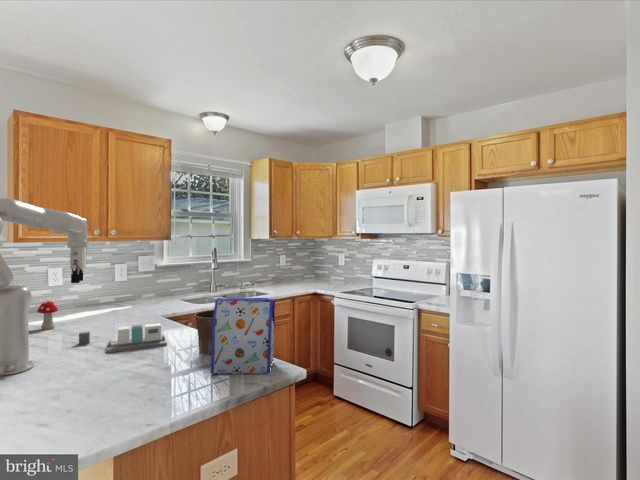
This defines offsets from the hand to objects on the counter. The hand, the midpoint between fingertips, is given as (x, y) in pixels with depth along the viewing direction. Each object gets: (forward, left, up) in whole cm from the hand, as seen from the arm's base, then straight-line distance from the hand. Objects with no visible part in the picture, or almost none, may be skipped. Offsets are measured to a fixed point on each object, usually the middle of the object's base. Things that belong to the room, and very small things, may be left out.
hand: (77, 281), depth 169 cm
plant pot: (-36, -55, -29) cm, 72 cm away
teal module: (-12, -24, -27) cm, 39 cm away
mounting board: (-12, -25, -29) cm, 40 cm away
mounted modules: (-13, -26, -27) cm, 39 cm away
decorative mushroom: (+44, +18, -29) cm, 56 cm away
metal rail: (-12, -25, -28) cm, 39 cm away
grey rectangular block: (+2, -3, -29) cm, 29 cm away
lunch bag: (-64, -61, -29) cm, 93 cm away
